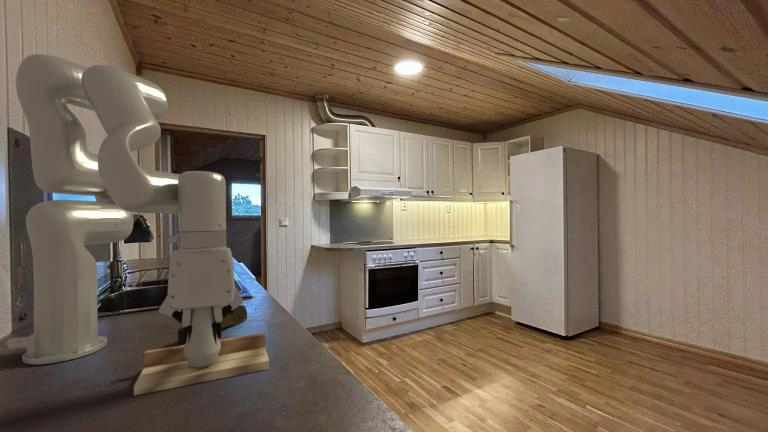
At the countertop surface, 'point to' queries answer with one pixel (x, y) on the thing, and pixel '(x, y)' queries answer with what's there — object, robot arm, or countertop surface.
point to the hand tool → (224, 321)
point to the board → (174, 370)
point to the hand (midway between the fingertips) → (203, 343)
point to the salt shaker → (202, 339)
